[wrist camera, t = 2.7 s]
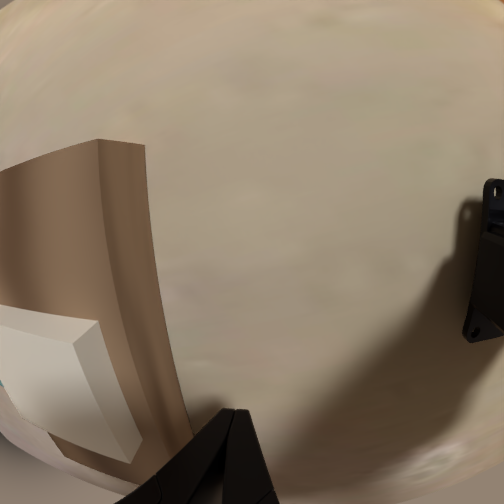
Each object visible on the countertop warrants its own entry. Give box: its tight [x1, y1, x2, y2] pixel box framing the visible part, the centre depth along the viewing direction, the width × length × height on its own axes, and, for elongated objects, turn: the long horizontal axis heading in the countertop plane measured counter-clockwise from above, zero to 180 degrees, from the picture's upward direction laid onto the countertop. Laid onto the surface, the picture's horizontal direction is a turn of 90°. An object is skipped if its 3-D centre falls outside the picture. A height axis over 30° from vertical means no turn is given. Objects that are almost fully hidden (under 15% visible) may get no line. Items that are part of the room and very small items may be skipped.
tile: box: [0, 305, 143, 464], centre depth 9 cm, size 7×6×2 cm
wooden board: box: [0, 139, 194, 485], centre depth 11 cm, size 9×17×3 cm, turn 3°
